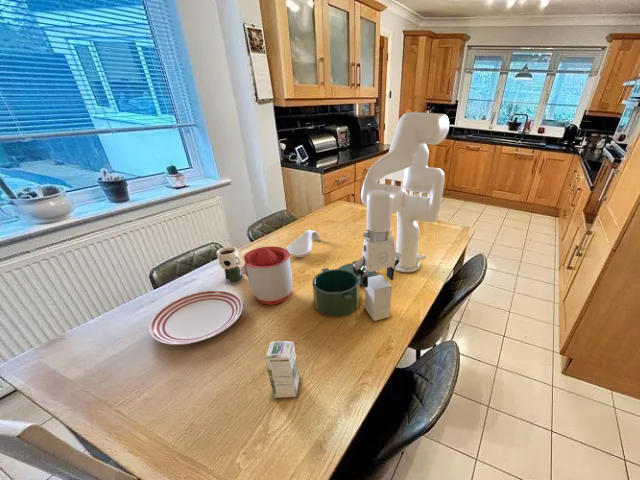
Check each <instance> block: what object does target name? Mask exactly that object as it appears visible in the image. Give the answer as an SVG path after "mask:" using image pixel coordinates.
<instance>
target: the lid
mask: <svg viewBox="0 0 640 480" xmlns="http://www.w3.org/2000/svg"><path fill="white" fill-rule="evenodd" d="M357 261H358V260H354V261H352V263H351V262H350V263H346V264H343V265H341V266H340V267H338V268H337V269H342V270H348V271H351V272H353V273H355V274H356V275H357V276H358V277H359V286H363V285H362V284H361V275H360V274H359V273H358V272H357V271H356V270H355V269H354V267H353V264H354V263H356V262H357ZM362 267H363V266H362V265H361V266H360V267H359V268H360V269H361V268H362ZM365 270H366V269H365ZM366 276H367V277H373V276H378V275H377V271H374V272H369V273H368V274H367V275H366Z"/></svg>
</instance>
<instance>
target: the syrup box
mask: <svg viewBox="0 0 640 480" xmlns="http://www.w3.org/2000/svg"><path fill="white" fill-rule="evenodd" d="M264 361H265V366H266V371H267V374H268V377H269V383H270V388H271V390H272V391H271V392H272V396H273V398H275V399H278V398H295V397H297V395H298V390H299V385H300V373H299V368H298V361H297V354H296V348H295V342H294V341H289V340H288V341H287V340H283V341H282V340H281V341H280V340H277V341H270V343H269V346H268V349H267V352H266V355H265V358H264Z"/></svg>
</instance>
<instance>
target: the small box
mask: <svg viewBox="0 0 640 480" xmlns="http://www.w3.org/2000/svg"><path fill="white" fill-rule="evenodd" d="M392 287H393V285H391V283H390V282H389V281H388V280H387V279H386V278H385V276H384V275H382V274H378V275H376V276H373V277H368V287H365V286H364V293H365V294H364V302H365V303H364V308H365V310H366V312H367V313H368V314H369V316H370V317H371V319H372V320H373V322H376V321H380V320H384V319H387V318H389V317H391V308H392V307H391V306H392V290H393V289H392Z"/></svg>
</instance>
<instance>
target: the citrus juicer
mask: <svg viewBox="0 0 640 480" xmlns="http://www.w3.org/2000/svg"><path fill="white" fill-rule="evenodd" d="M290 257H291V255H290V253H289V252H288V251H287V250H286V248H284V247H281V246H272V245H271V246H262V247H257V248H255V249H251V250H249V251H247V252H246V253H245V254H244V255H243V260H244V263H243V265H242V266H241V267H240V275H245V276H246V277H247V282H248V284H249V288H250V290H251V291H252V292H251V293H253V295H254V297H255V298H256V299H257V300H258V301H259V303H261V304H264V305H278V304H280V303H283V302H285V301H287V299H288V300H289V298H290V296H291V293H292V290H293V271H292V266H291V265H292V264H291V259H290Z"/></svg>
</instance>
